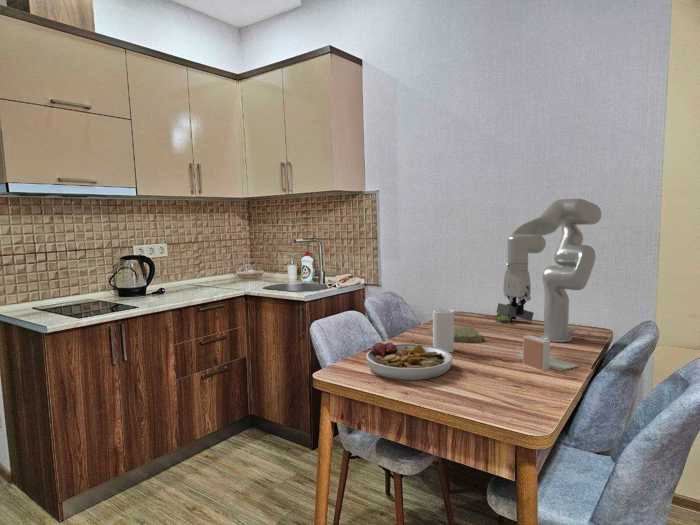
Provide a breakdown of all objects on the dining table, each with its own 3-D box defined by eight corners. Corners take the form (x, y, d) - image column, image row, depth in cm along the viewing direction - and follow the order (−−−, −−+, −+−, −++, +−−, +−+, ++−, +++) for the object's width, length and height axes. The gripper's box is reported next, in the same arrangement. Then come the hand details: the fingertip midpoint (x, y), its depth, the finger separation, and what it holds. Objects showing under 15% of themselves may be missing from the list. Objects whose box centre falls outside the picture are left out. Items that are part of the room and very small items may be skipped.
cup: (455, 348, 186) (455, 309, 184) (451, 353, 178) (451, 313, 177) (435, 346, 189) (435, 308, 188) (430, 351, 182) (430, 312, 180)
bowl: (462, 362, 168) (462, 341, 167) (434, 389, 142) (434, 365, 141) (388, 352, 183) (388, 333, 182) (351, 375, 157) (350, 352, 156)
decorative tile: (429, 333, 213) (429, 325, 213) (472, 332, 213) (472, 325, 212) (435, 344, 195) (435, 335, 194) (483, 343, 194) (483, 335, 194)
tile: (529, 362, 166) (529, 335, 166) (549, 369, 158) (550, 340, 157) (522, 363, 165) (522, 336, 164) (542, 370, 157) (543, 342, 156)
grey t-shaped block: (523, 319, 185) (525, 310, 185) (535, 322, 180) (537, 313, 180) (496, 311, 178) (498, 303, 179) (507, 314, 173) (510, 305, 173)
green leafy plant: (510, 330, 234) (525, 312, 233) (509, 331, 224) (524, 312, 223) (491, 317, 238) (506, 298, 237) (490, 317, 228) (505, 298, 227)
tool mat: (532, 352, 178) (532, 351, 177) (578, 367, 160) (578, 365, 160) (515, 356, 174) (515, 354, 174) (560, 371, 156) (560, 369, 156)
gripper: (495, 266, 183) (495, 311, 185) (526, 269, 169) (526, 319, 170) (509, 265, 186) (509, 309, 188) (541, 268, 172) (540, 316, 174)
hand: (517, 313), depth 179 cm, fingers closed on grey t-shaped block, 2 cm apart
